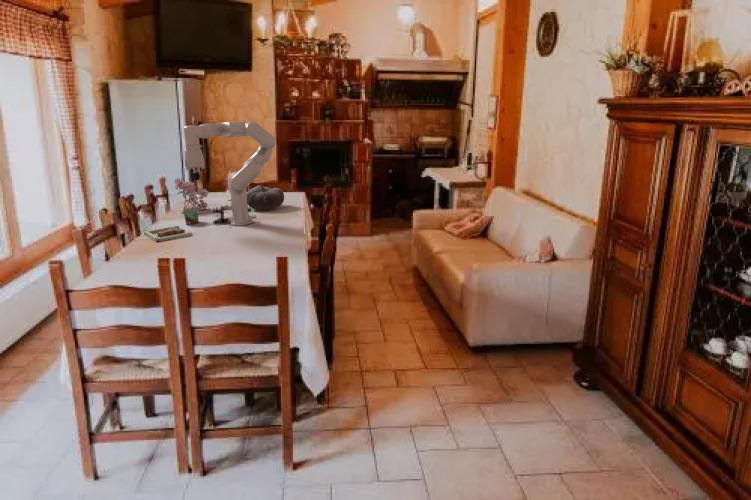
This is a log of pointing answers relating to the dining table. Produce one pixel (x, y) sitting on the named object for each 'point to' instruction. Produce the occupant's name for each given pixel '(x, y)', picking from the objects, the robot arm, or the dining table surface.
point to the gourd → (265, 198)
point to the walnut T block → (170, 232)
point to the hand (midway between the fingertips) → (196, 179)
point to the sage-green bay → (166, 236)
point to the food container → (191, 215)
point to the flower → (191, 193)
